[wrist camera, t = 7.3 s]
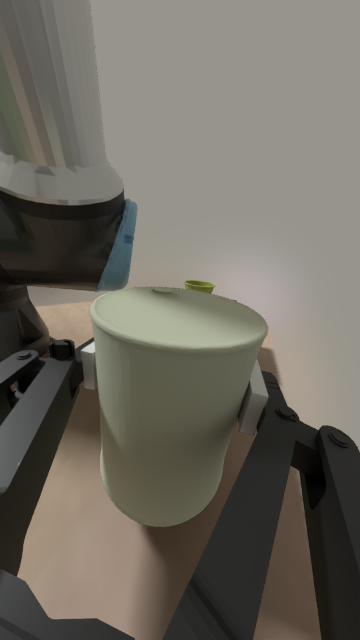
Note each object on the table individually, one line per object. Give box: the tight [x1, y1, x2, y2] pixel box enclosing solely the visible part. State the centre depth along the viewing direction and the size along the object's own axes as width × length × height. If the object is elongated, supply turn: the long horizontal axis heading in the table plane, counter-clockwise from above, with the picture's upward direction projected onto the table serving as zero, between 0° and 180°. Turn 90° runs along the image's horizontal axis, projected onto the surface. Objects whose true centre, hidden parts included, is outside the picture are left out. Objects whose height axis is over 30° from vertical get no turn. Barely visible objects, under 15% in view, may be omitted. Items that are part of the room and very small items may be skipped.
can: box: [90, 287, 268, 527], centre depth 12 cm, size 9×9×12 cm
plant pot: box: [184, 280, 215, 294], centre depth 56 cm, size 9×9×9 cm
